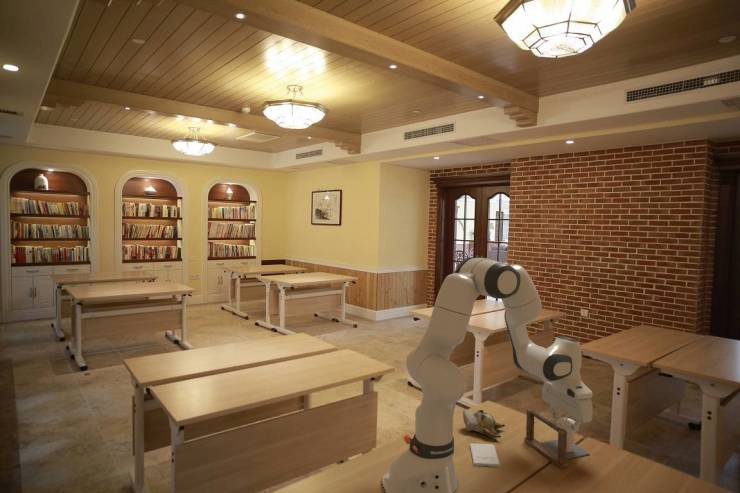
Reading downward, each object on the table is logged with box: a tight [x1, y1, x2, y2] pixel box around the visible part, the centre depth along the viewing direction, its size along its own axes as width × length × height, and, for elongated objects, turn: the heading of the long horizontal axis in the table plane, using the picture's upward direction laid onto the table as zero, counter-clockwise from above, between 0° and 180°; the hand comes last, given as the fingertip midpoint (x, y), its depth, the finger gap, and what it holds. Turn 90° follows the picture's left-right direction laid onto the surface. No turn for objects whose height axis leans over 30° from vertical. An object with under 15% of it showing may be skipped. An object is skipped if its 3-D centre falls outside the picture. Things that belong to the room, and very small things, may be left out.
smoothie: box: [556, 413, 576, 452], centre depth 152 cm, size 6×6×14 cm
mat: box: [540, 439, 591, 461], centre depth 153 cm, size 11×11×1 cm
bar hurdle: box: [524, 408, 569, 469], centre depth 151 cm, size 3×18×12 cm, turn 17°
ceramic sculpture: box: [462, 409, 506, 439], centre depth 165 cm, size 11×9×15 cm
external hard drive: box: [469, 442, 501, 468], centre depth 149 cm, size 2×8×12 cm
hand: (564, 424), depth 153 cm, fingers open, 8 cm apart
